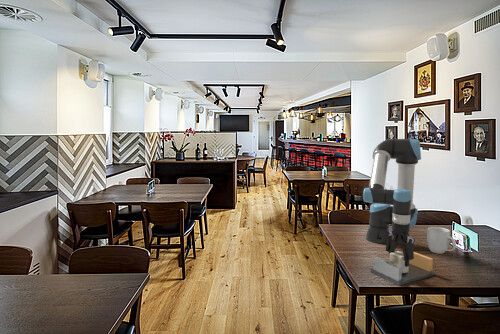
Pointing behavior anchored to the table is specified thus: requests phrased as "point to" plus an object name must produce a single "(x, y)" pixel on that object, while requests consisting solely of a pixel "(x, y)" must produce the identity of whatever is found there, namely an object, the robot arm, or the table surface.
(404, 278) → the base
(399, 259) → the block
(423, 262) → the bar
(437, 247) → the mug
